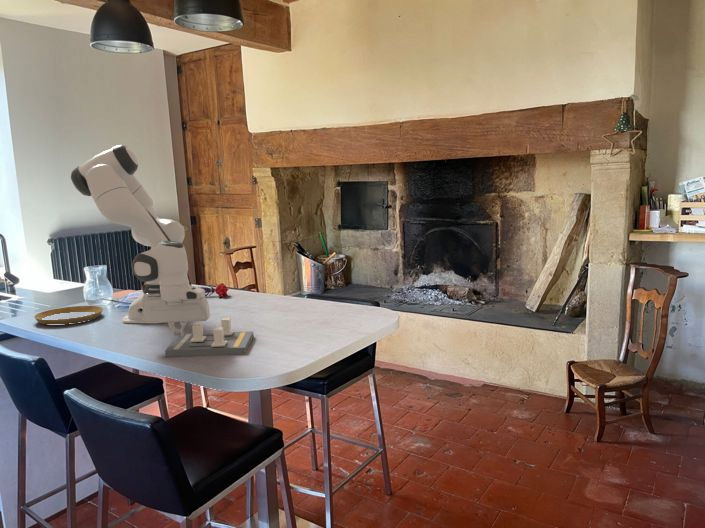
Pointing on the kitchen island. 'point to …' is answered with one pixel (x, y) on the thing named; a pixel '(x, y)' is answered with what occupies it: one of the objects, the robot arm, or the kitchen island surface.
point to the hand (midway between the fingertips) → (178, 335)
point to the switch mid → (198, 333)
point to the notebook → (122, 293)
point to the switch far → (227, 326)
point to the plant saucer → (67, 310)
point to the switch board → (234, 345)
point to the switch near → (218, 337)
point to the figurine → (216, 290)
